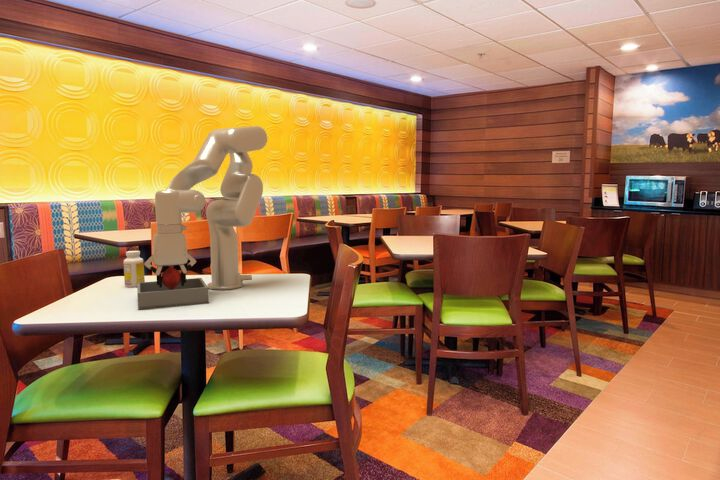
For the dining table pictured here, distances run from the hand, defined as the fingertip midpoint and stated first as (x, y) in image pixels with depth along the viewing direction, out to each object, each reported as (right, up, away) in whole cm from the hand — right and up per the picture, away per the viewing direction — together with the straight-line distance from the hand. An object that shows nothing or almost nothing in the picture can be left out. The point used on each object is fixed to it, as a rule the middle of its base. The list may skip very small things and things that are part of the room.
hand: (171, 285), depth 154 cm
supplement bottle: (-23, -3, +24) cm, 33 cm away
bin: (0, -5, +1) cm, 5 cm away
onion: (0, -2, 0) cm, 2 cm away
